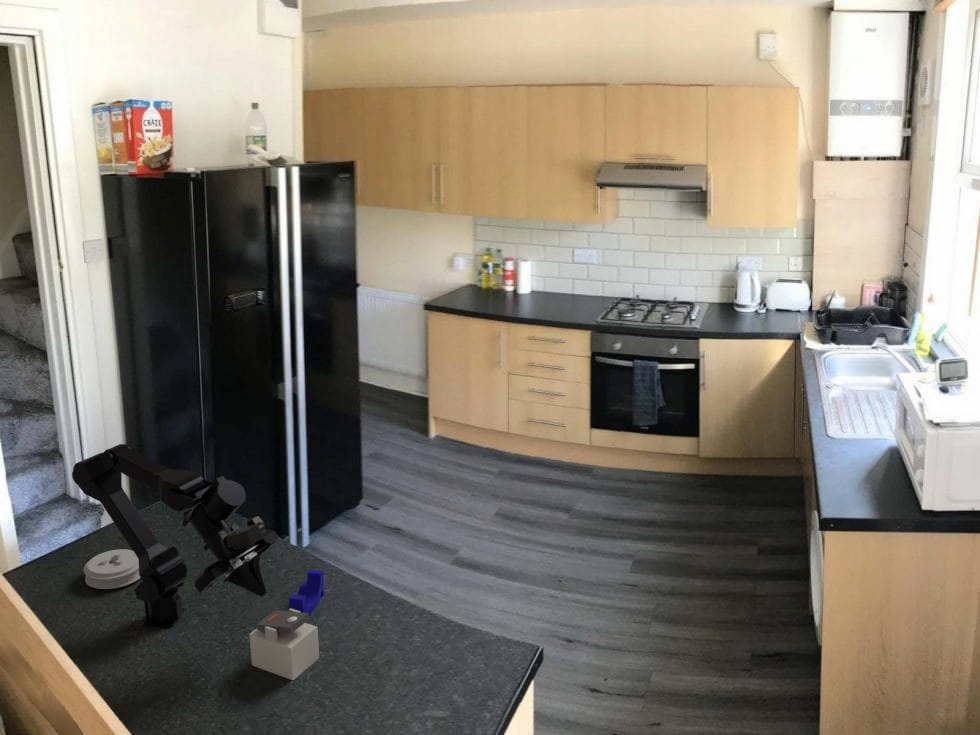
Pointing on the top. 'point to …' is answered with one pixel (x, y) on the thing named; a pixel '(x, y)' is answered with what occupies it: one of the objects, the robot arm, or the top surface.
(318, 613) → the top surface
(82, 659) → the top surface
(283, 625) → the rocker
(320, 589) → the blue notched block
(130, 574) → the lid
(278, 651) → the switch box
